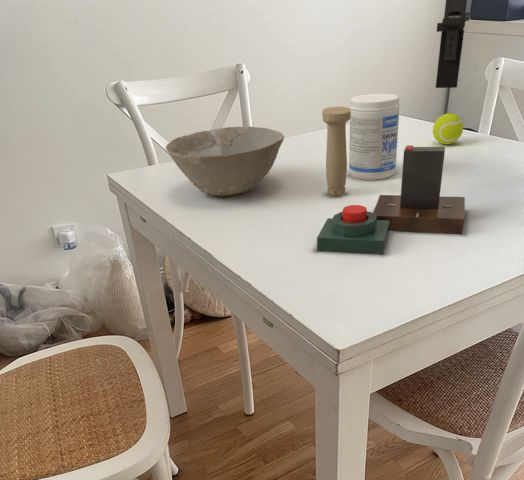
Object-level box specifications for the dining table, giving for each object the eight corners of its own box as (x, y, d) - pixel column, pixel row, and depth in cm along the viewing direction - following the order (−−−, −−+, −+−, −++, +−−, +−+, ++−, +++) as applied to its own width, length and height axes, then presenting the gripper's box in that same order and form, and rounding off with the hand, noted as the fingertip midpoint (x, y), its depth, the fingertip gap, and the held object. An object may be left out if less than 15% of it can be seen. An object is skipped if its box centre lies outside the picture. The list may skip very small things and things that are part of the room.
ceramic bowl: (307, 190, 106) (306, 137, 101) (203, 219, 98) (195, 163, 92) (252, 167, 123) (248, 120, 117) (158, 190, 114) (149, 141, 108)
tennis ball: (460, 140, 128) (464, 110, 125) (462, 147, 123) (466, 116, 119) (431, 140, 130) (433, 111, 126) (431, 148, 125) (434, 117, 121)
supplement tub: (390, 182, 107) (395, 102, 98) (343, 180, 110) (344, 102, 102) (399, 168, 114) (404, 92, 106) (354, 166, 117) (356, 93, 109)
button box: (389, 233, 86) (390, 209, 84) (383, 254, 80) (384, 229, 77) (327, 230, 89) (327, 207, 86) (317, 250, 83) (316, 226, 80)
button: (368, 216, 83) (368, 205, 82) (364, 224, 80) (364, 213, 79) (344, 215, 84) (345, 204, 83) (340, 223, 81) (340, 212, 80)
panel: (462, 211, 91) (464, 195, 90) (462, 234, 83) (464, 218, 82) (379, 208, 95) (379, 193, 94) (371, 230, 87) (371, 214, 86)
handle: (347, 188, 106) (348, 105, 97) (350, 198, 100) (352, 113, 92) (322, 189, 106) (321, 107, 98) (324, 200, 101) (324, 115, 92)
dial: (438, 203, 88) (445, 145, 83) (438, 209, 86) (444, 149, 81) (401, 202, 90) (405, 145, 85) (399, 207, 88) (403, 149, 83)
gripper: (441, -101, 76) (425, 67, 88) (433, -124, 57) (414, 95, 69) (498, -107, 74) (474, 65, 86) (510, -134, 55) (476, 94, 67)
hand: (447, 79), depth 77 cm, fingers open, 13 cm apart
